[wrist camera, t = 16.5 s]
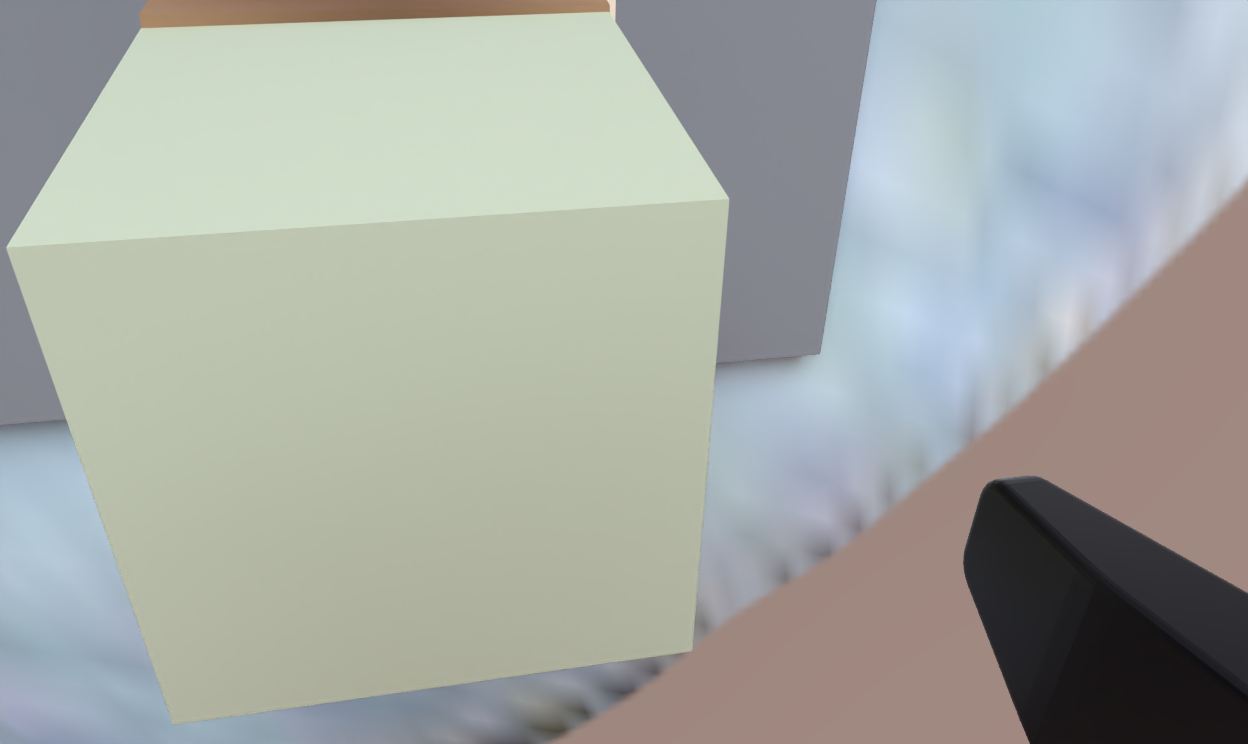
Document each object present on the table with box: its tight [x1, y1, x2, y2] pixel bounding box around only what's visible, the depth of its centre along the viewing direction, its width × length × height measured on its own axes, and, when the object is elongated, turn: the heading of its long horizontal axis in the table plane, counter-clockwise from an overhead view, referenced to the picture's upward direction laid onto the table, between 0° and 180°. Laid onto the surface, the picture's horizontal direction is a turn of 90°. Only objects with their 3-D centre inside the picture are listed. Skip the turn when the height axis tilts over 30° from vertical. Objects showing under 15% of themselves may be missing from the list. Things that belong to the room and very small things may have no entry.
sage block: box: [6, 12, 729, 725], centre depth 11 cm, size 5×5×5 cm
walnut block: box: [139, 0, 610, 28], centre depth 15 cm, size 5×5×5 cm
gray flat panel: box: [0, 0, 876, 425], centre depth 16 cm, size 20×14×1 cm
